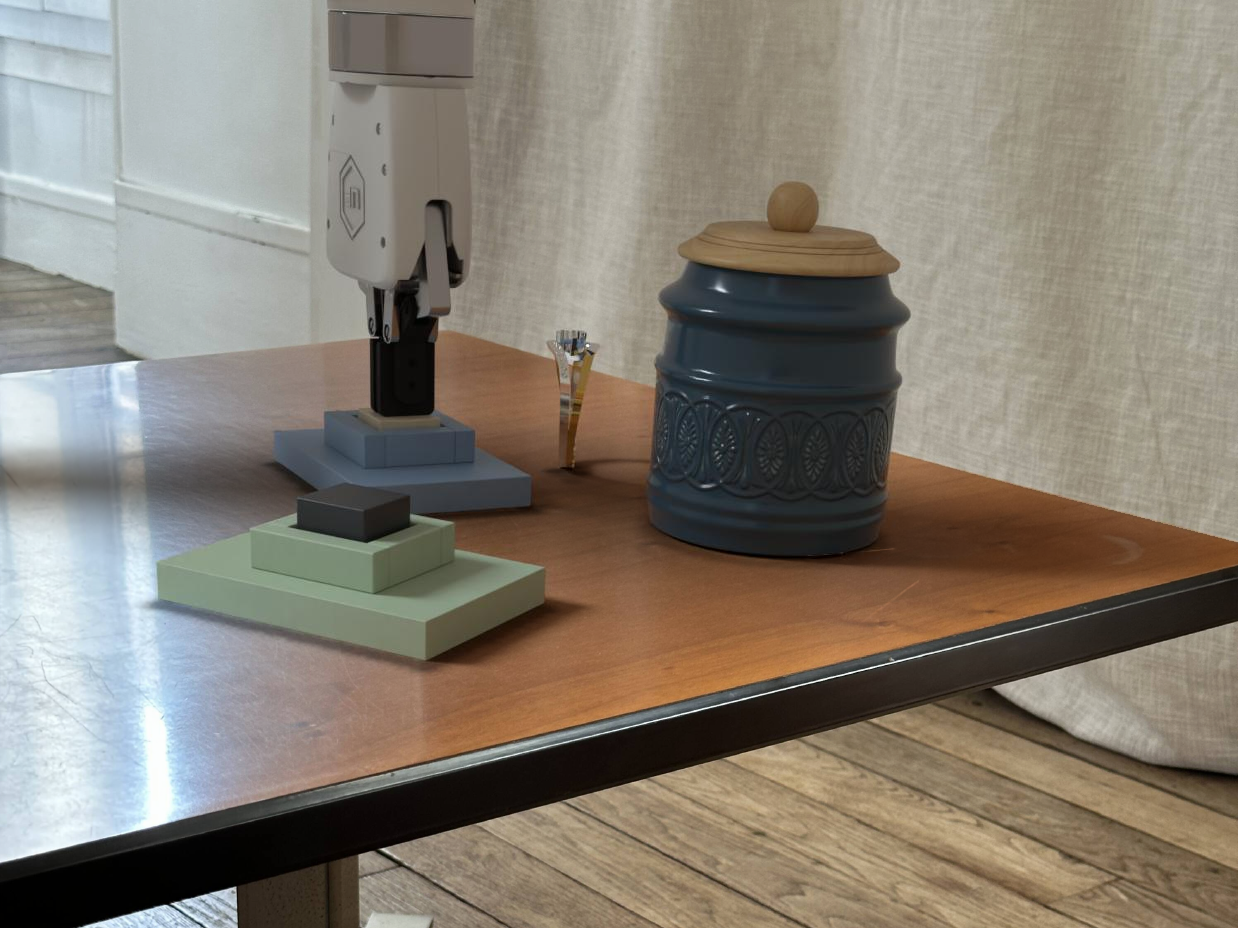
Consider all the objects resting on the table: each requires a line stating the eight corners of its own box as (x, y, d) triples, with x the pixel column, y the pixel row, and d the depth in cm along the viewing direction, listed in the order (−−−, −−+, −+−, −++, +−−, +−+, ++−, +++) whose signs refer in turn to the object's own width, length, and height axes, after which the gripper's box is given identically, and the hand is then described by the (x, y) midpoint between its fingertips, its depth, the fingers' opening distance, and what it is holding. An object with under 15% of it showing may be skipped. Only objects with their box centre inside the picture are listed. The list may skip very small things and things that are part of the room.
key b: (357, 438, 99) (356, 407, 98) (416, 435, 101) (416, 405, 100) (380, 452, 96) (380, 420, 96) (440, 449, 98) (441, 418, 97)
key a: (296, 536, 77) (295, 496, 76) (344, 519, 80) (344, 481, 79) (364, 550, 75) (364, 510, 75) (410, 532, 78) (411, 494, 78)
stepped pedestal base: (157, 598, 78) (153, 521, 76) (294, 550, 86) (293, 479, 84) (425, 661, 72) (426, 578, 71) (544, 603, 80) (547, 528, 79)
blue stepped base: (274, 459, 103) (272, 399, 101) (432, 450, 107) (433, 392, 106) (358, 519, 92) (357, 452, 90) (531, 506, 96) (533, 442, 95)
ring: (545, 453, 108) (551, 320, 105) (597, 456, 108) (604, 323, 105) (534, 479, 102) (540, 338, 99) (589, 482, 102) (597, 342, 99)
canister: (899, 568, 89) (946, 200, 82) (644, 553, 89) (668, 183, 81) (867, 505, 101) (906, 179, 94) (642, 491, 101) (663, 164, 93)
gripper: (285, 46, 95) (294, 390, 102) (386, 56, 83) (388, 445, 90) (415, 52, 98) (414, 385, 106) (530, 62, 86) (520, 437, 94)
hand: (402, 412), depth 98 cm, fingers closed
